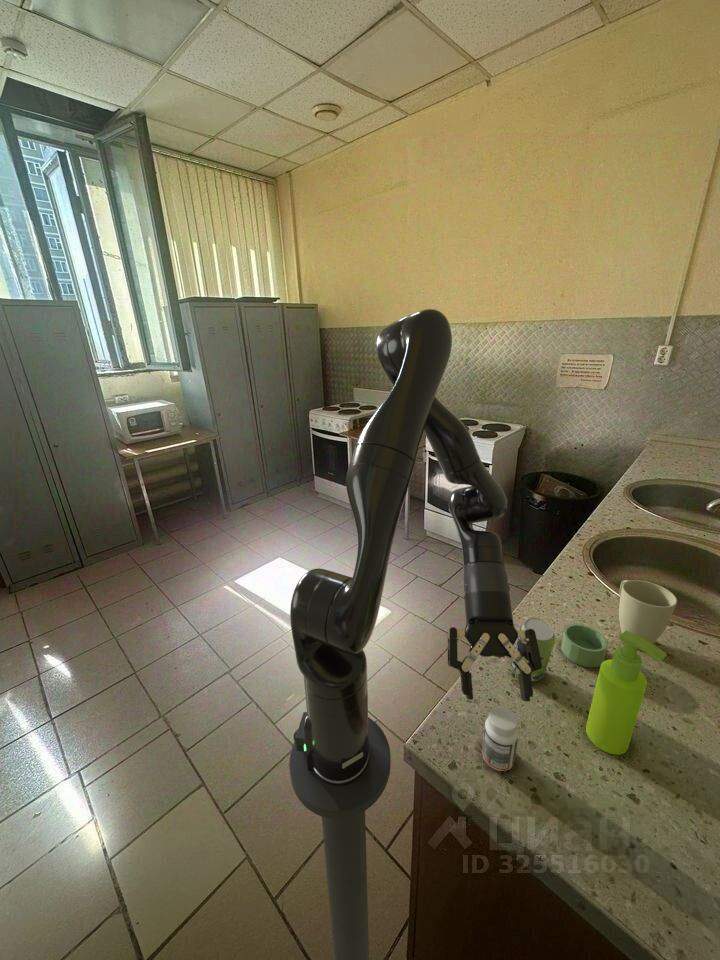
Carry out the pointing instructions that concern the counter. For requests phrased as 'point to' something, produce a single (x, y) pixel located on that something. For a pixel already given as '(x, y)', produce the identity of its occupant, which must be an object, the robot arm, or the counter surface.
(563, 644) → the holder
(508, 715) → the pill bottle
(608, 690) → the soap dispenser
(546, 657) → the beverage can
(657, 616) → the mug
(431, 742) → the counter surface
